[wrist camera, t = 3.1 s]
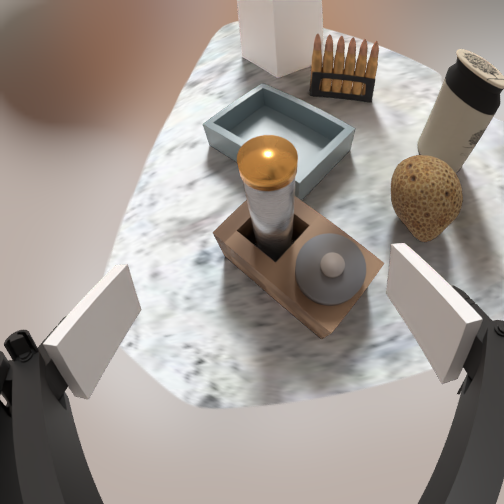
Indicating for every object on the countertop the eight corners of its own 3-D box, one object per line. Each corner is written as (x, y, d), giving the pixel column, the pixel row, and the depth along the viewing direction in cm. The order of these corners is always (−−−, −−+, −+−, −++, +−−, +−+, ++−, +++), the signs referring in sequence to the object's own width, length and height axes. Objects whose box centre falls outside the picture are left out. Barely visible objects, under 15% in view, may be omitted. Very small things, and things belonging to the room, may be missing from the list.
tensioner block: (366, 281, 29) (391, 255, 22) (321, 339, 28) (335, 330, 20) (271, 208, 34) (268, 166, 27) (224, 255, 32) (207, 222, 25)
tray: (350, 149, 36) (355, 128, 32) (298, 204, 34) (299, 183, 30) (264, 103, 42) (262, 82, 38) (209, 144, 39) (202, 124, 35)
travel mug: (408, 138, 37) (442, 43, 20) (442, 135, 37) (480, 52, 20) (433, 178, 34) (487, 84, 17) (467, 172, 34) (519, 91, 17)
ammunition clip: (309, 96, 42) (311, 35, 31) (309, 90, 42) (311, 31, 31) (371, 102, 40) (384, 44, 29) (369, 96, 41) (381, 40, 30)
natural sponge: (413, 178, 34) (439, 129, 25) (451, 230, 30) (490, 189, 21) (365, 202, 33) (387, 148, 24) (405, 261, 30) (445, 222, 21)
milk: (242, 56, 49) (223, -52, 25) (285, 42, 50) (278, -58, 26) (277, 78, 44) (266, -52, 20) (323, 62, 46) (326, -53, 22)
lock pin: (299, 250, 32) (309, 153, 17) (276, 275, 31) (270, 190, 16) (273, 230, 33) (264, 127, 18) (250, 254, 32) (224, 159, 17)
